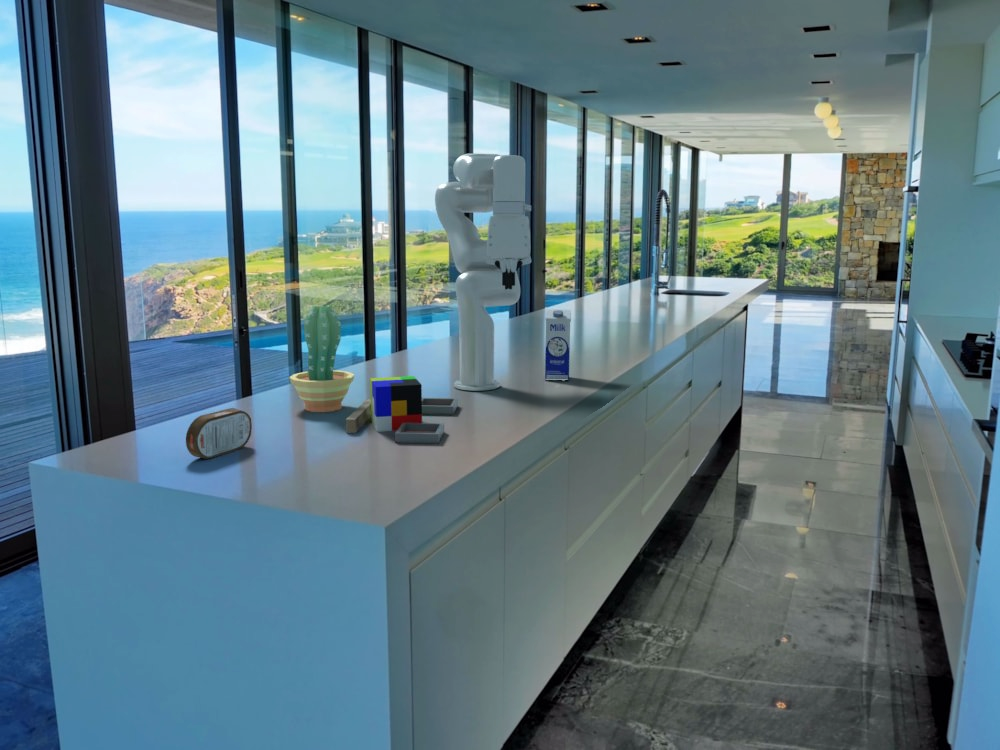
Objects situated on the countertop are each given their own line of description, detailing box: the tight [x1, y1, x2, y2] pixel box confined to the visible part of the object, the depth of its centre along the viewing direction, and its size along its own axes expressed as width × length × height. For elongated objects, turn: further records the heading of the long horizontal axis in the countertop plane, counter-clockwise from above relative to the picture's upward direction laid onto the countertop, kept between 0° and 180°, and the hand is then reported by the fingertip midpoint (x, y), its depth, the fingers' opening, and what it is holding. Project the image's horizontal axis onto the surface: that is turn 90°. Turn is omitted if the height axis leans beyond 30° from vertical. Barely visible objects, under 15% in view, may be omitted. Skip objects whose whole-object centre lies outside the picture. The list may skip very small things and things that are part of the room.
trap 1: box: [394, 422, 445, 445], centre depth 172 cm, size 9×9×2 cm
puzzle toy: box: [369, 375, 423, 433], centre depth 182 cm, size 10×10×10 cm
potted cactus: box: [288, 304, 355, 413], centre depth 197 cm, size 15×15×25 cm
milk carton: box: [544, 308, 572, 380], centre depth 234 cm, size 7×7×20 cm
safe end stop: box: [345, 398, 371, 434], centre depth 185 cm, size 20×2×3 cm, turn 176°
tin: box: [185, 407, 253, 460], centre depth 160 cm, size 15×3×8 cm, turn 152°
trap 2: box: [422, 397, 459, 416], centre depth 197 cm, size 9×9×2 cm
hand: (508, 288), depth 194 cm, fingers closed
